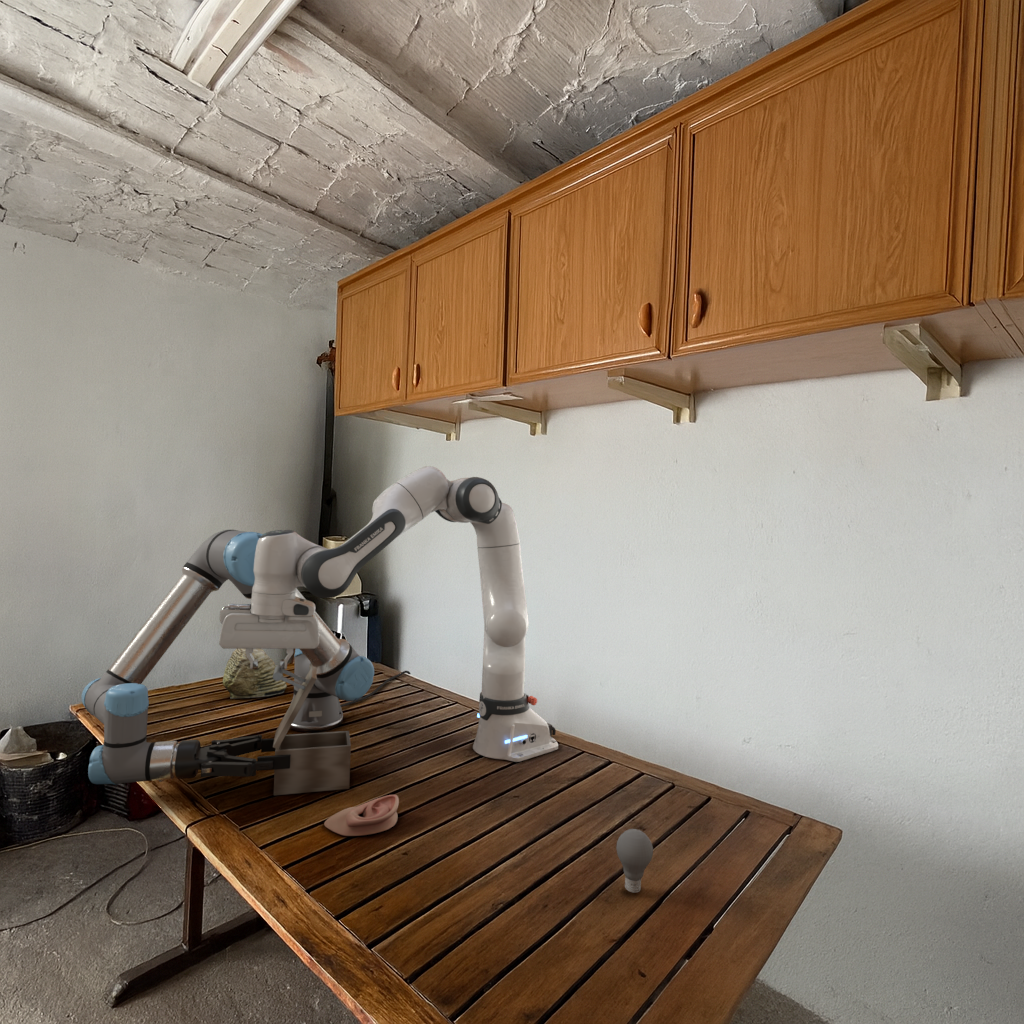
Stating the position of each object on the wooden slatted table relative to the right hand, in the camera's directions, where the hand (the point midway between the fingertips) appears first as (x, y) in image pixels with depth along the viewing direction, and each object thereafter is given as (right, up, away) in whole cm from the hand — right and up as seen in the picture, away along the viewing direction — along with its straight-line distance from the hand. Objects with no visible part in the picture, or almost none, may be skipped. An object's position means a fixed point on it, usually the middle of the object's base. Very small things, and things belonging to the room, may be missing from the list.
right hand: (268, 668), depth 137 cm
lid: (+6, -9, +2) cm, 11 cm away
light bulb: (+73, -30, -31) cm, 84 cm away
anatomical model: (+23, -27, -13) cm, 38 cm away
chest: (+8, -26, +3) cm, 28 cm away
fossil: (-28, -23, +61) cm, 71 cm away
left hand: (+4, -19, +2) cm, 19 cm away
